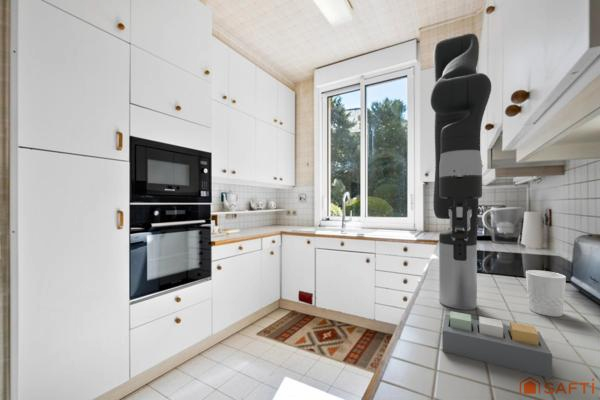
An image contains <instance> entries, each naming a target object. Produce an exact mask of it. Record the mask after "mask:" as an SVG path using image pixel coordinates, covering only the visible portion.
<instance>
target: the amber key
mask: <svg viewBox="0 0 600 400" xmlns="http://www.w3.org/2000/svg"><path fill="white" fill-rule="evenodd" d="M509 326H510V334H511V337H512V340H515V341H519V342H524V343H529V344H534V345H539V334H538V332H539V331H538V330H537V329H536V327H535V326H534V325H527V324H522V323H517V322H513V321H510V322H509ZM537 331H538V332H537Z"/></svg>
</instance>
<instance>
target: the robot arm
mask: <svg viewBox="0 0 600 400" xmlns="http://www.w3.org/2000/svg"><path fill="white" fill-rule="evenodd" d="M479 54H480V43H479V38H478V36H477V35H476V34H474V33H464V34H461V35H457V36H452V37H449V38H446V39H442V40H439V41H438V42H436V43H435V45H434V49H433V57H432V59H433V75H434V77H433V79H434V85H433V88H432V90H431V93H430V106H431V108H432V110H433V111H434V152H435V153H434V156H435V159H434V161H435V165H434V166H435V167H434V168H435V170H434V185H433V201H432V202H433V204H432V205H433V213H434V216H435V217H436V218H437V219H439V220H440V219H441V220H449V228H450V229H447V230H443V231H441V232H440V233H439V235H438V237H439V238H438V242H439V243H438V245H439V246H438V249H439V250H438V254H439V255H438V256H439V257H438V258H439V260H438V262H439V263H438V267H439V268H438V270H439V271H438V272H439V274H438V276H439V277H438V279H439V282H438V285H439V286H438V297H439V298H438V301H439V303H441V305H443V306H446V307H448V308H452V309H456V310H457V309H458V310H466V311H469V310H470V311H471V310H476V309H477V308H478V305H477V304H478V302H477V301H478V299H477V298H478V269H477V268H478V265H477V263H478V259H477V258H478V254H477V253H478V252H477V251H478V250H477V249H478V247H477V246H478V245H477V241H478V239H477V238H478V221H479V220H478V219H479V218H478V216H479V199H480V198H482V196H483V162H482V156H481V155H482V154H481V131H482V123H483V118H484V114H485V111H486V108H487V105H488V103H489V98H490V95H491V94H492V93H491V92H492V82H491V80H490V78H489V77H488V75H487V74H485V73H483V72H481V73H480V72H477V66H478V62H479Z"/></svg>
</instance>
